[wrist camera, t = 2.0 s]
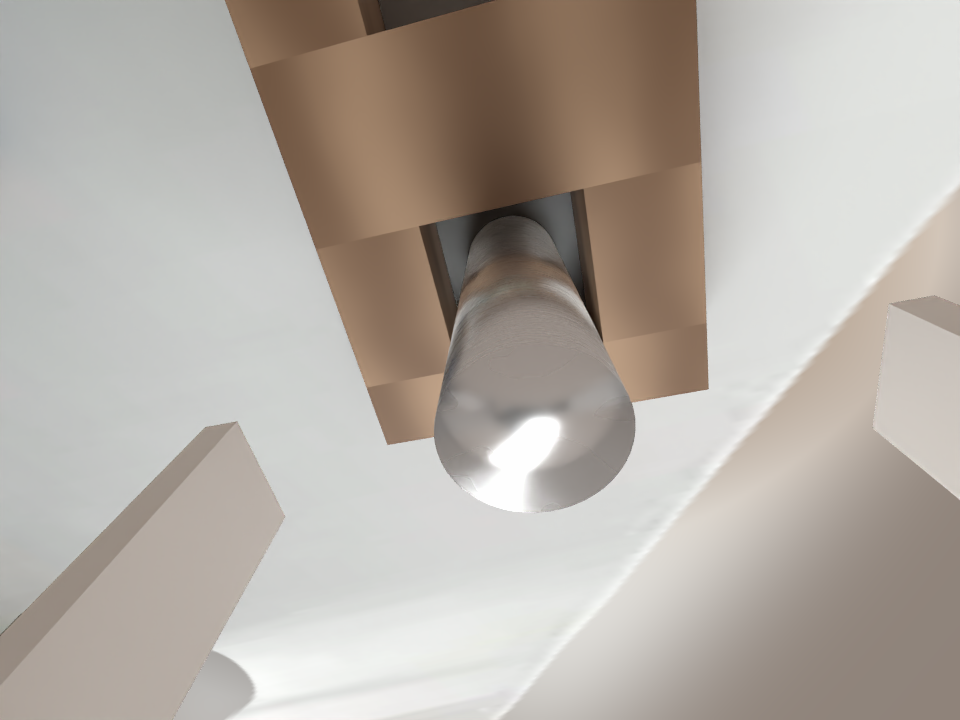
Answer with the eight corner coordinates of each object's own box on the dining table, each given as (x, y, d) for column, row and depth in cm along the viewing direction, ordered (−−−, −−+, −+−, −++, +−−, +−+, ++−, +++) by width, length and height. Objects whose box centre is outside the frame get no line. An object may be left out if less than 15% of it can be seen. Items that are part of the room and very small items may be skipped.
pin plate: (402, 399, 26) (386, 448, 22) (190, -235, 16) (91, -351, 12) (676, 349, 24) (711, 392, 20) (631, -396, 14) (682, -593, 10)
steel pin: (479, 310, 24) (460, 524, 11) (459, 226, 22) (410, 365, 9) (562, 293, 23) (643, 497, 10) (548, 206, 21) (625, 324, 9)
